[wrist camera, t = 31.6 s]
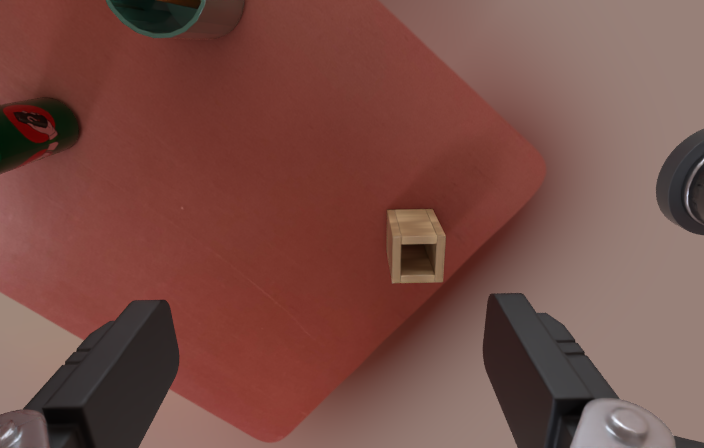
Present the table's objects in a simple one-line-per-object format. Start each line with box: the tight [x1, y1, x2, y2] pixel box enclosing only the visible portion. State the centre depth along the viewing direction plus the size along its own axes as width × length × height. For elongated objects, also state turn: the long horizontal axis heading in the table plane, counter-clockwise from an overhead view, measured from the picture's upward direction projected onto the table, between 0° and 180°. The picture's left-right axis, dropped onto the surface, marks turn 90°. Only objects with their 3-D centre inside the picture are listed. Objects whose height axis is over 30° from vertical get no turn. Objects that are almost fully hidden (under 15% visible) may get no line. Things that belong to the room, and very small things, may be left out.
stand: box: [387, 209, 446, 283], centre depth 44 cm, size 5×5×7 cm
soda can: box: [0, 98, 79, 174], centre depth 37 cm, size 5×5×12 cm
